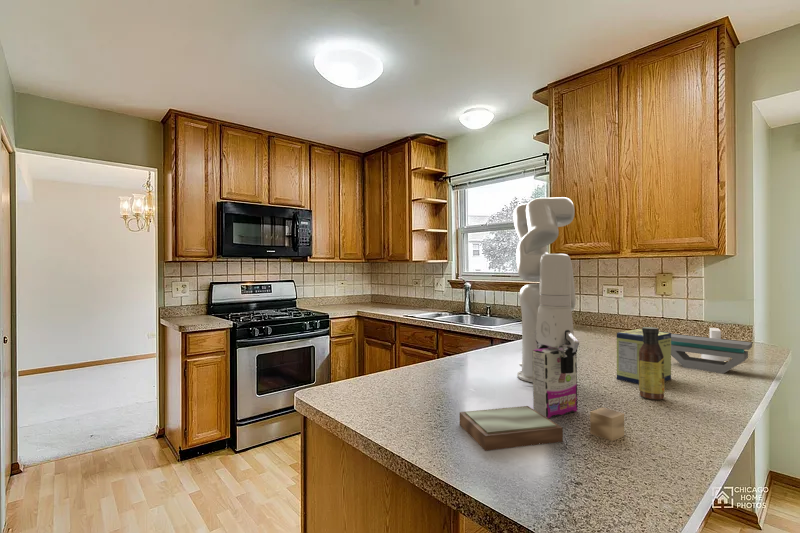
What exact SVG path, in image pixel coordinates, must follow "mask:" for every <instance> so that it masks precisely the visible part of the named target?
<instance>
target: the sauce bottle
mask: <svg viewBox="0 0 800 533" xmlns="http://www.w3.org/2000/svg"><path fill="white" fill-rule="evenodd" d="M641 329H642V332H643V345H642V346H641V348H640V349H639V384H638V390H639V395H640V396H641V397H642V398H645V399H647V400H653V401H654V400H657V401H659V400H663V399H664V398H665V388H666V387H665V381H664V356H663V353H662V350H661V348H660V345H659V342H658V334H659V332H660V331H659V328H658V327H653V326H652V327H651V326H644V327H642V328H641Z"/></svg>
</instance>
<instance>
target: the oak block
mask: <svg viewBox="0 0 800 533" xmlns="http://www.w3.org/2000/svg"><path fill="white" fill-rule="evenodd" d="M589 412H590V414H589V417H590V418H589V420H590V423H589V424H590V426H589V428H590V429H589V433H590V435H594V436H596V437H599V438H602V439H605V440H607V441H610V442H614V441H616V440H619V439H621V438H622V437H623V438H624V437H625V413H623V412H620V411H617V410H614V409H610V408H607V407H603V406H602V407H600V408H597V409H594V410H591V411H589Z"/></svg>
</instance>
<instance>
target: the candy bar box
mask: <svg viewBox="0 0 800 533" xmlns="http://www.w3.org/2000/svg"><path fill="white" fill-rule="evenodd" d="M567 350H568V349H565V351H567ZM532 351H533V382H532V391H533V394H532V395H533V396H532V397H533V399H532V400H533V410H535V411H537V412H538V413H540V414H542V415H543V416H545V417H546V418H548V419H550V418H555V417H559V416H563V415H568V414H570V413H574V412H577V411H578V381H577V380H578V379H577V378H578V370H577V369H578V368H577V366H578V365H577V364H578V363H577V358H578V357H577V352H576V353H575V357H574V372H573V373H566V374H563V373H561V357H563V356H562V353H561V351H560V349H559V347H558V348H552V347H550V348H543V349H536V350H532Z"/></svg>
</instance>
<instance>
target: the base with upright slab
mask: <svg viewBox="0 0 800 533" xmlns="http://www.w3.org/2000/svg"><path fill="white" fill-rule="evenodd" d="M709 338H716V339H722V330H721V329H720V328H718V327H709ZM700 358H703V359H709V360H716V361H730V358H729V357H721V356H713V355H706V354H700Z"/></svg>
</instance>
